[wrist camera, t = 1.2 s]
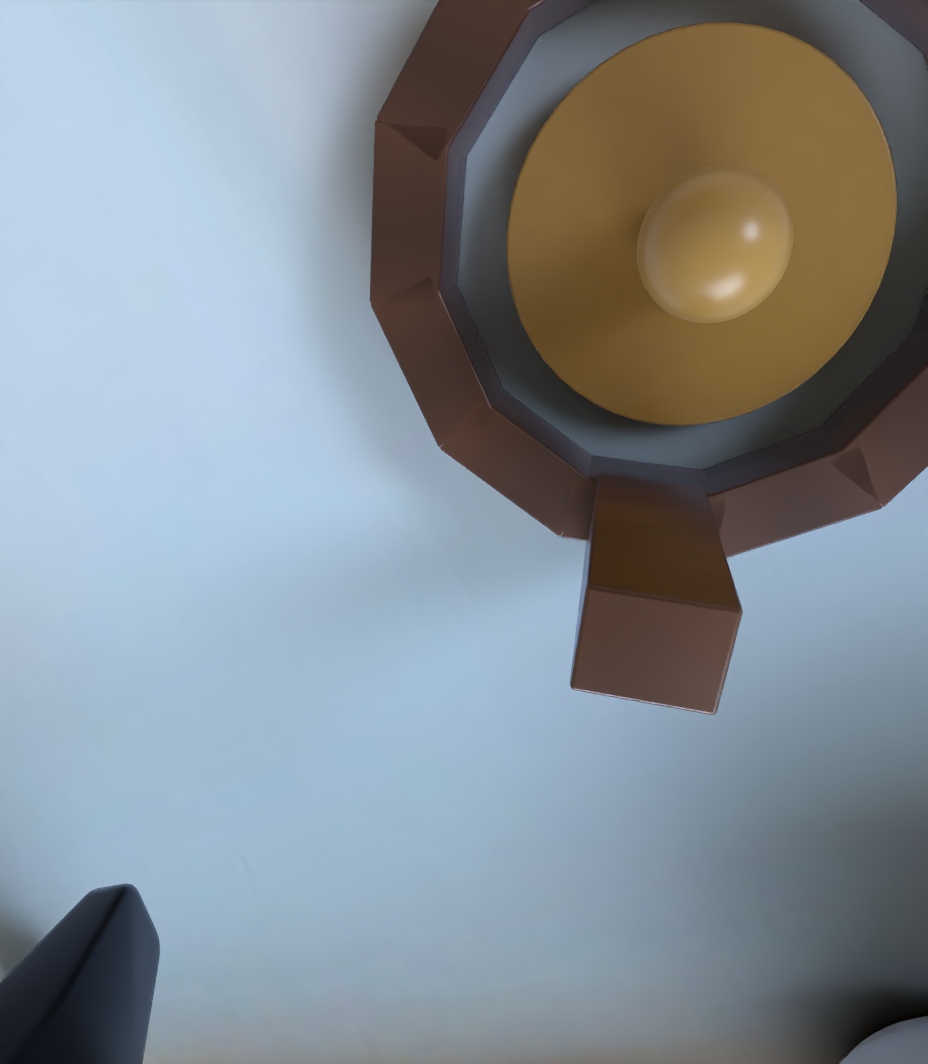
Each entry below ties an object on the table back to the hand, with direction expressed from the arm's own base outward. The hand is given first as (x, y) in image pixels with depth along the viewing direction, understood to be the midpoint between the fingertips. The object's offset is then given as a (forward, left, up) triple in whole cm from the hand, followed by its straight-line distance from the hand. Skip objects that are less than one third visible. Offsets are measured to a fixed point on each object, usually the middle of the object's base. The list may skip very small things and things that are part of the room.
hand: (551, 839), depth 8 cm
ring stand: (-1, -6, -12) cm, 14 cm away
